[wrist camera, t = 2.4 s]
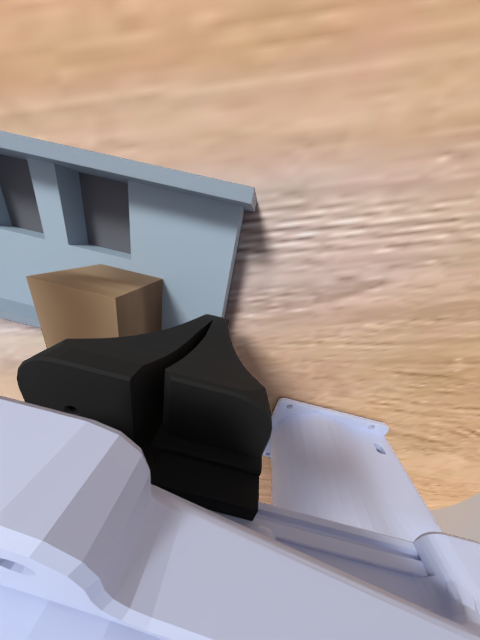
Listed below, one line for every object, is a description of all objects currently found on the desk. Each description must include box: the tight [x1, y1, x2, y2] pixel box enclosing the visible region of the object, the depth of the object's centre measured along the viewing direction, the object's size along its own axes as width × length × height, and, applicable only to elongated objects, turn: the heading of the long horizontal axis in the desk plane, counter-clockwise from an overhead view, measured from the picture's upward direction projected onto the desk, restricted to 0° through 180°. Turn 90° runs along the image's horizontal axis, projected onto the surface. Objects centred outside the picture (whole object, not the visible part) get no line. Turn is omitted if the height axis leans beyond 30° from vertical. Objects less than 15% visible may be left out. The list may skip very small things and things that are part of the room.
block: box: [26, 264, 163, 349], centre depth 10 cm, size 4×4×4 cm
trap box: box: [0, 131, 257, 330], centre depth 12 cm, size 23×10×3 cm, turn 78°
